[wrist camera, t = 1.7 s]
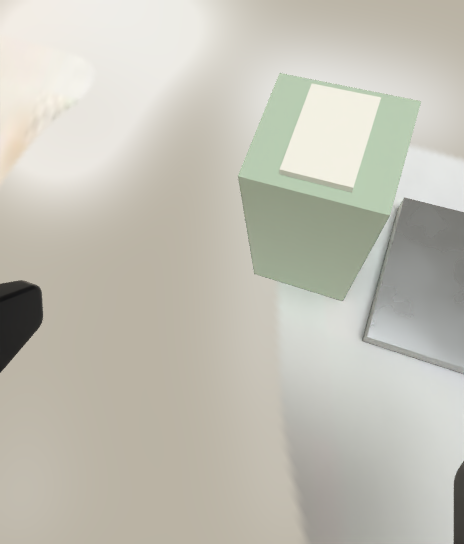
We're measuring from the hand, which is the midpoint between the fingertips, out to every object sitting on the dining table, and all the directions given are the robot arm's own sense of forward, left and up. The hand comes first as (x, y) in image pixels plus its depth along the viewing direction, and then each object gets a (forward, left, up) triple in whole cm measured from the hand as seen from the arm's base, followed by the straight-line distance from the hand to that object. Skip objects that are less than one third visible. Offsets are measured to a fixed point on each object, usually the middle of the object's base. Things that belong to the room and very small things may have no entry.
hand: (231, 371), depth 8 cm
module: (0, -8, -14) cm, 16 cm away
